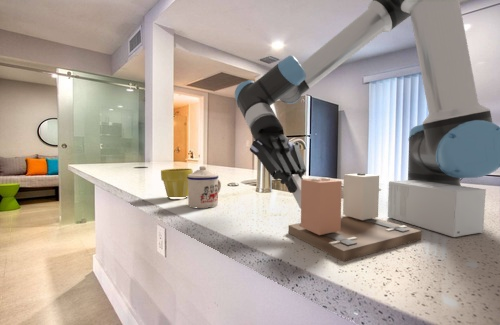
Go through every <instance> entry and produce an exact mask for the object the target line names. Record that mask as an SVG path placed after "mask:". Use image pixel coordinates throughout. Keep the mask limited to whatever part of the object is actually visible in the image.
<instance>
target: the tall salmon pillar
mask: <svg viewBox="0 0 500 325" xmlns="http://www.w3.org/2000/svg"><path fill="white" fill-rule="evenodd" d="M342 184H343V181H342V180H336V179H332V178H331V177H317V178H307V179H305V178H303V179H302V180H301V208H300V223H301V227H302V228H304V229H307V230H309V231H311V232H313V233H316V234H318V235H322V234H327V233H332V232H337V231H341V216H342Z"/></svg>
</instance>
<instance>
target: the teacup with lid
mask: <svg viewBox="0 0 500 325" xmlns="http://www.w3.org/2000/svg"><path fill="white" fill-rule="evenodd" d="M187 178H188V198H187V199H188V200H187V201H188V207H190V206H191V207H190V208H192V207H197V208H196V209H198V208H203V209H209V208H208V207H212V208H214V207H213V206H215V207H217V206H218V205H219V193H220V191H221V188H222V182H221V181H220V179H219V175H218V173H215V172H213V171H211V170H210V169H207V166H206V165H201V166H199V168H198V169H197V170H195V171H194V172H193V173H192V174H189V175H188V177H187ZM216 205H217V206H216Z"/></svg>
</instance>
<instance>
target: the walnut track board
mask: <svg viewBox="0 0 500 325" xmlns="http://www.w3.org/2000/svg"><path fill="white" fill-rule="evenodd" d="M287 228H288V229H287V230H288V231H287V232H288V234H290V235H292V236H294V237H296V238H298V239H300V240H301V241H303V242H305V243H307V244H309V245H311V246H313V247H315V248H317V249H319V250H321V251H323V252H325V253H327V254H328V255H330V256H333V257H334V258H336V259H338V260H340V261H342V262H347V261H349V260H353V259H357V258H360V257H363V256H367V255H370V254H374V253H378V252H380V251H384V250H389V249H391V248H394V247H398V246H403V245H405V244H409V243H413V242H417V241H419V240H421V239H422V230H420V229H416V228H412V227H409V226H407V225H404V224H403V225H402V224H398V223H394V222H393V221H391V222H390V221H388V220H384V219H380V218H378V217H376V218H371V219H366V220H360V219H356V218H353V217H350V216H346V215H341V231H337V232H332V233H327V234H322V235H318V234H316V233H313V232H311V231H309V230H307V229H304V228H302V227H301V222H300V223H292V224H288V227H287Z"/></svg>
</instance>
